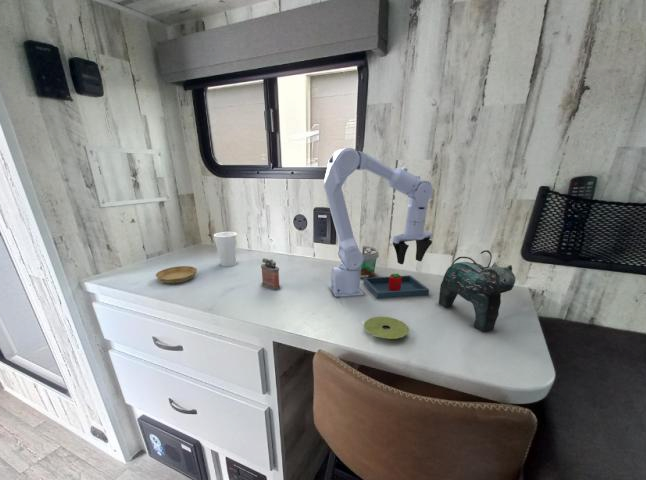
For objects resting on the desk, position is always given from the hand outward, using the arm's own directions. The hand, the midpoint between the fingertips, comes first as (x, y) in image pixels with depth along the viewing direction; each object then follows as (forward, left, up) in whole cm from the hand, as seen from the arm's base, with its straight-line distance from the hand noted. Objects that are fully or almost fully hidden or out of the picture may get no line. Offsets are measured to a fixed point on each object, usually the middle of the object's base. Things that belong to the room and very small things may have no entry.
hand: (409, 262), depth 103 cm
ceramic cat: (+7, -23, -10) cm, 26 cm away
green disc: (-18, -27, -10) cm, 34 cm away
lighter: (-46, +10, -10) cm, 48 cm away
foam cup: (-63, +39, -10) cm, 75 cm away
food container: (-8, +15, -10) cm, 20 cm away
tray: (-4, 0, -10) cm, 11 cm away
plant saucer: (-81, +24, -10) cm, 85 cm away
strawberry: (-4, 0, -9) cm, 10 cm away
